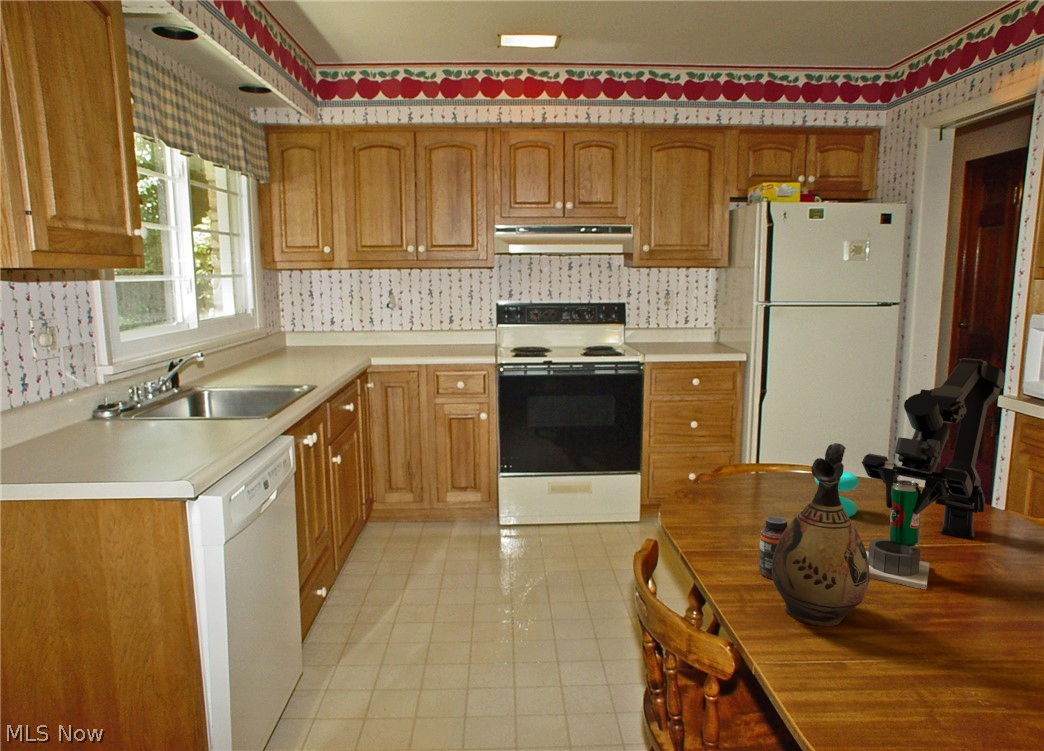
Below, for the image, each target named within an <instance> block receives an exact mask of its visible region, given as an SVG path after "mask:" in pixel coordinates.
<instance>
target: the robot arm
mask: <svg viewBox="0 0 1044 751" xmlns="http://www.w3.org/2000/svg"><path fill="white" fill-rule="evenodd" d="M1005 375H1006V374H1005V373H1004V372H1003V370H1002V369H1001V368H1000V367H998V366H994V365H992V364H990V363H988V362H987V361H986V360H983V359H977V358H968V357H967V358H958V360H957V362H956V367H955V368H954V369H953V370H952V372H951V374H950V375H949V376H948V377H947V378H946V380H945V381H944V382H943V384H942V385H941V386H940V387H939V386H938V387H935V388H931V389H920V391H919V393H916V394H914V395H911V396H909V397H908V398H906V399H905V401H904V404H903V408H904V410H905V414H906V416H907V418H908V421H909V424H910V427H911V428H912V429H913V430H914V432H913V435H912V436H911V437H912V438H908V437H898V438H897V442H896V445H895V446H896V447H895V450H894V454H895V455H896V454H897V455H898V457H897V459H898V462H899V463H901V464H900V465H899V464H896V463H895V462H892V461H889V458H888V457H887V456H885V455H880V454H875V453H870V452H869V453H868V454H866V455H864V457H863V459H862V460H861V465H863V468H864V471H865V473H866V475H867V476H868V477H870V478H871V479H876V480H880V481H882V482H883V484H885V494H886V495H885V499H886V500H885V501H886V508H887V509H890V504H891V486H892V485H893V482H894V481H898V480H899V479H898V478H899V477H900V476H901V477H907V478H911V479H916V480H921V481H924V486H923V488H922V489H921V495H920V498H919V501H918V503H917V505H916V507H915V509H914V513H915V514H916V515H917V514H919V513H920V514H921V512H922V511H923V510H925V509H926V508H927V507H929V506H930V505H931V504H933V503H935V505H940V506H943V507H944V509H943V518H942V519H943V521H942V522H943V523H942V522H941V523H940V534H943V535H949V536H956V537H961V538H966V539H975V528H974V527H973V526H974V516H975V515H974V514H978V513H985V509H986V508H985V507H986V497H985V494H984V492H983V488H982V486H981V484H982V483H981V481H982V480H981V478H980V475H979V473H978V471H977V469H976V464H977V459H978V455H979V450H980V445H981V439H982V437H983V430H984V425H985V420H986V417H987V411H988V408H989V406H990V405H991V404H992V403H993V402H995V401H996V400H997V399H998V398H999V396H1000V393H1001V389H1003V388H1004V386H1005V382H1006V376H1005ZM958 422H959V426H958V431H957V435H956V439H955V443H954V444H955V445H954V449H953V454H952V458H951V461H950V462H949V463H948V464H947V465H946V466H945V465H943V466H942V467H941V469H940V472H936V469H937V466H938V464H941V461H942V458H941V456H942V453H943V450H944V447H945V444H946V443H947V441H949V436H950V435H949V434H950V428H949V426H948V425H947V424H946V423H949V424H954V425H955V424H958Z"/></svg>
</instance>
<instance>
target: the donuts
mask: <svg viewBox="0 0 1044 751" xmlns="http://www.w3.org/2000/svg"><path fill="white" fill-rule="evenodd" d="M814 482H815V483H816V484H817V485H819V481H818V480H817V479H816V478H815V477H814ZM859 483H860V482H859V478H858V476H856V475H855V474H854V473H852V472H848V471H845V470H843V475H842V476H841V478H840V482H839V484H838V492H848V491H851V490H855V489H856V488H857V487H858V486H859ZM839 499H840V502H841V503H842V507H843V508H844V510H845V512H846V513H847V515H848V516H849V518H850V517H853V516H854V515H856V513H857V511H858V506H857V505H856V503H854V502H853V501H852V500H851V499H850V498H847V497H845V496H840V495H839Z"/></svg>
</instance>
